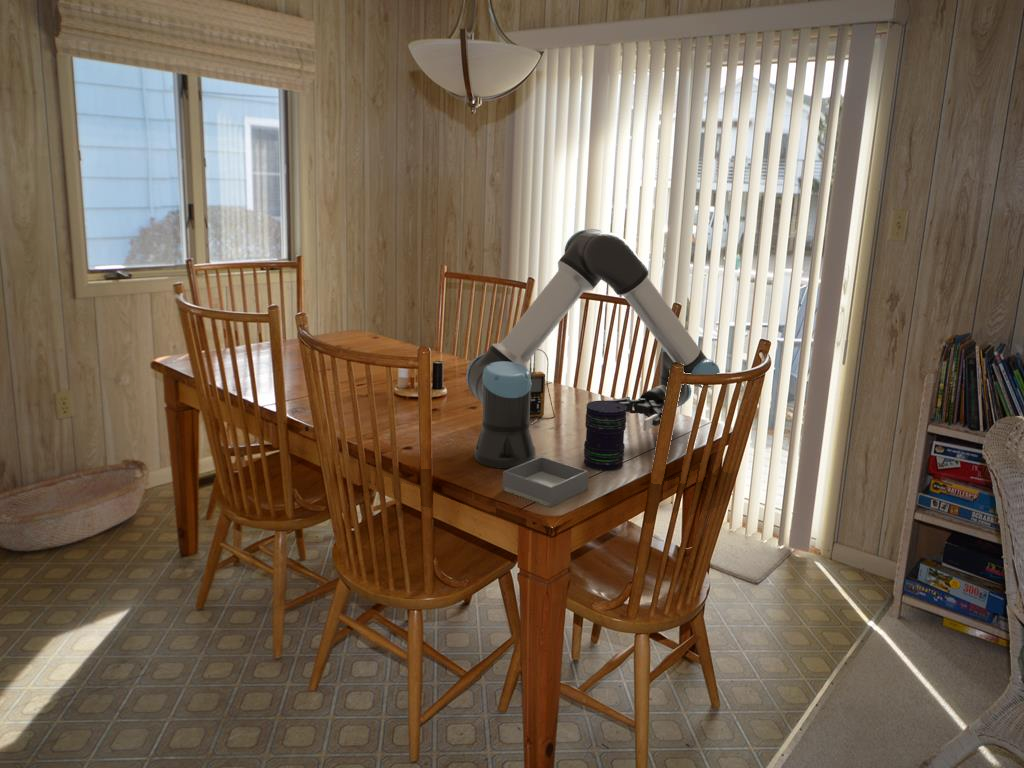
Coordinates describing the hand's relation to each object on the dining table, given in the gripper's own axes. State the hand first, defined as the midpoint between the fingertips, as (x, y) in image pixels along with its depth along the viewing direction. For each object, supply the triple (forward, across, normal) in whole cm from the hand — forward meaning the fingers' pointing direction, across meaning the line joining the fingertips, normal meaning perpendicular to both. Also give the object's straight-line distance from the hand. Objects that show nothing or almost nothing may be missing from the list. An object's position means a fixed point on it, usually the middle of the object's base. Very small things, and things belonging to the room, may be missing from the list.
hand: (620, 419), depth 195 cm
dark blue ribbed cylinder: (+7, 0, -10) cm, 12 cm away
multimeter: (-12, +34, -10) cm, 38 cm away
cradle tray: (+29, +3, -10) cm, 31 cm away
